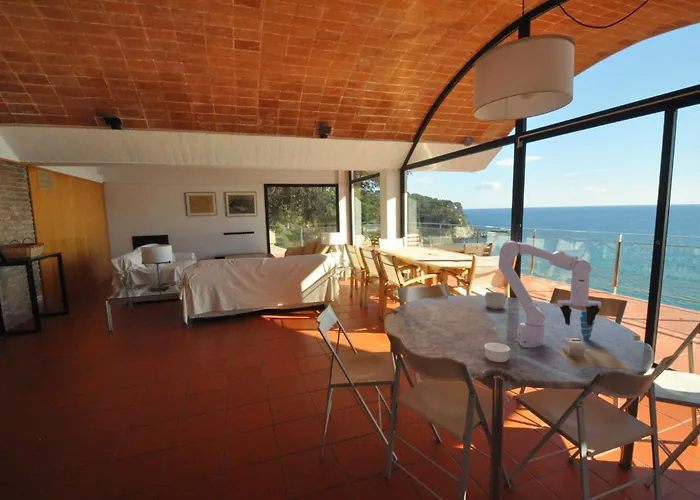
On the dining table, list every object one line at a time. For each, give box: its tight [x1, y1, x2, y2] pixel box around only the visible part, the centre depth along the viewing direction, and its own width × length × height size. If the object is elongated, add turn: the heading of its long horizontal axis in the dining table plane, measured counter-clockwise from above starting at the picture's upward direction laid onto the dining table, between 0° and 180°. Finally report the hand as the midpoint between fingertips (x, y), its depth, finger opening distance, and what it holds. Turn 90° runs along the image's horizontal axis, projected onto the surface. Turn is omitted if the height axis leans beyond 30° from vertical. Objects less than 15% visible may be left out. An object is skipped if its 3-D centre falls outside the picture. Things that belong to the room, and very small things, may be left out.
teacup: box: [484, 291, 507, 310], centre depth 193 cm, size 14×11×8 cm
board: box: [553, 347, 632, 370], centre depth 122 cm, size 18×16×6 cm
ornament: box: [579, 309, 597, 341], centre depth 139 cm, size 5×5×15 cm
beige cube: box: [562, 337, 586, 357], centre depth 126 cm, size 5×5×5 cm
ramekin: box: [483, 342, 511, 363], centre depth 127 cm, size 9×9×4 cm
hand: (578, 324), depth 131 cm, fingers open, 7 cm apart
